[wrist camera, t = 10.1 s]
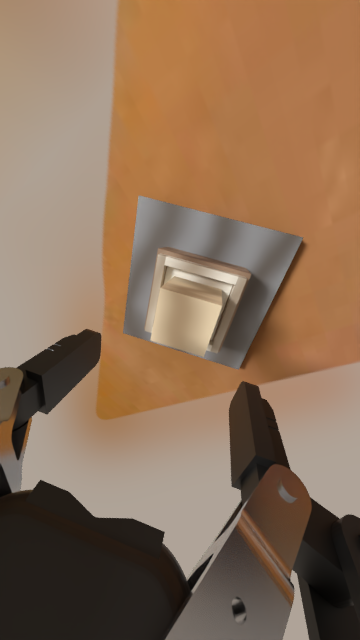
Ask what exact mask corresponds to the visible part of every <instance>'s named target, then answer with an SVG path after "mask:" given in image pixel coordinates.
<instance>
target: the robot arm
mask: <svg viewBox="0 0 360 640" xmlns="http://www.w3.org/2000/svg"><path fill="white" fill-rule="evenodd" d="M100 353H101V334H100V333H98V332H95V331H92V330H89V329H85V330H84V331H82V332H81V333H79V334H78V335H71V336H68V337H65V338H63V339H61V340H60V341H58V342H56V343H55V344H54V345H52V346H50V347H48V349H45V350H44V351H42V352H41V353H39V354H37V355H36V356H34V357H33V358H31V359H30V360H28V361H26V362H25V363H23V364H22V365H20V366H18V367H17V368H13V367H5V368H0V640H282V639H283V636H284V632H285V629H286V625H287V622H288V618H289V615H290V612H291V608H292V604H293V600H294V586H293V584H292V583H291V582H290V576H291V571H292V570H294V571H295V572H296V573H297V575H298V581H299V587H300V592H301V597H302V602H303V608H304V613H305V619H306V624H307V629H308V635H309V640H360V518H358V517H356V516H354V515H346V516H344V517H342V518H341V519H339V518H338V517H336V516H335V515H334V514H332V513H331V512H330V511H328V510H327V509H325V508H324V507H323V506H321V505H320V504H318V503H317V502H316V501H314V500H313V499H312V498H310V496H309V494H308V491H307V489H306V487H305V486H304V484H303V483H302V482H301V480H300V479H299V478H298V476H297V475H296V474H294V473H293V472H292V471H291V470H290V467H289V463H288V460H287V456H286V453H285V450H284V446H283V443H282V439H281V436H280V433H279V431H278V426H277V423H276V419H275V415H274V412H273V409H272V408H271V406H270V405H269V403H268V402H267V400H265V399H262V398H261V395H260V391H259V387H258V386H256V385H253V384H250V383H247V382H244V381H243V382H241V384H240V386H239V388H238V390H237V391H236V393H235V395H234V397H233V399H232V401H231V404H230V408H229V426H230V454H231V481H232V487H234V488H237V489H239V490H241V498H242V500H241V501H240V502H239V503H238V505H237V506H236V508H235V509H234V511H233V512H232V514H231V515H230V517H229V519H228V520H227V521H226V523H225V524H224V526H223V527H222V529H221V530H220V532H219V533H218V535H217V536H216V538H215V539H214V541H213V542H212V544H211V545H210V547H209V548H208V549H207V551H206V552H205V553H204V555H203V556H202V557H201V559H200V560H199V562H198V563H197V564H196V566H195V567H194V569H193V570H192V572H191V573H190V575H189V576H188V578H187V579H186V577H185V575H184V573H183V571H182V569H181V567H180V565H179V563H178V562H177V560H176V559H175V557H174V555H173V554H172V553H171V552H170V550H169V549H168V548H167V547H166V546H165V545H164V544H163V543H162V542H163V537H164V532H163V531H161V530H158V529H156V528H154V527H151V526H149V525H147V524H144V523H142V522H139V521H137V520H134V519H126V518H96V517H94V516H93V515H92V514H91V513H90V512H89V511H87V510H86V508H85V507H84V506H83V505H82V504H81V503H80V502H79V501H78V500H76V498H75V497H74V496H73V495H72V494H71V493H69V492H68V491H66V490H63V489H61V488H58V487H56V486H54V485H51V484H49V483H46V482H44V481H42V480H40V481H39V483H38V484H37V485H36V487H35V488H34V489H33V490H25V491H20V489H21V480H22V474H21V473H22V462H23V458H24V454H25V449H26V445H27V440H28V436H29V431H30V426H31V422H32V416H33V415H34V414H35V413H36V412H37V411H39V412H42V413H45V414H48V413H49V412H50V411H51V410H52V409H53V408H54V407H55V406H56V405H57V404H58V403H59V402H60V401H61V400H62V399H63V398H64V397H65V396H66V395H67V394H68V393H69V392H70V391H71V390H72V389H73V388H74V387H75V386H76V385H77V384H78V383H79V382H80V381H81V380H82V378H84V377H85V376H86V374H88V373H89V372H90V370H92V369H93V368H94V367H95V366H96V364H97V363H98V361H99V359H100Z"/></svg>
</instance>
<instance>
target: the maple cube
mask: <svg viewBox="0 0 360 640" xmlns="http://www.w3.org/2000/svg"><path fill="white" fill-rule="evenodd" d="M221 308H222V289H218V288H215V287H211V286H208V285H204V284H201V283H197V282H194V281H190V280H187V279H183V278H180V277H176V276H174V277H173V278H171V279H170V280H169V281H168V282H167V283H165V284H164V285H163V286H162V287H161V288H160V292H159V297H158V302H157V308H156V313H155V318H154V323H153V329H152V334H151V339H150V340H151V341H154V342H157V343H160V344H163V345H167V346H170V347H173V348H176V349H179V350H182V351H186V352H189V353H192V354H195V355H198V356H202V357H204V355H205V352H206V350H207V347H208V344H209V341H210V339H211V336H212V333H213V330H214V328H215V325H216V322H217V319H218V317H219V314H220V311H221Z"/></svg>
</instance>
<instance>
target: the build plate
mask: <svg viewBox="0 0 360 640" xmlns="http://www.w3.org/2000/svg"><path fill="white" fill-rule="evenodd" d="M302 239H303V237H299V236H295V235H291V234H287V233H283V232H279V231H275V230H271V229H268V228H264V227H260V226H256V225H252V224H248V223H244V222H240V221H236V220H232V219H229V218H225V217H221V216H217V215H213V214H209V213H205V212H201V211H197V210H193V209H190V208H186V207H182V206H178V205H174V204H170V203H166V202H162V201H158V200H154V199H151V198H147V197H143V196H139V198H138V207H137V216H136V224H135V233H134V242H133V251H132V259H131V268H130V277H129V286H128V294H127V303H126V312H125V321H124V329H123V333H125V334H128V335H131V336H134V337H137V338H141V339H144V340H147V341H150V342H153V343H156V344H159V345H163V344H160V343H157V342H154V341H151V340H150V339H151V334H152V329H153V323H154V318H155V313H156V308H157V302H158V297H159V292H160V288H161V287H162V286H163V285H164V284H165V283H167V282H168V281H169V280H170V279H171V278H173V277H174V276H176V277H180V278H183V279H187V280H190V281H194V282H197V283H201V284H204V285H208V286H211V287H215V288H218V289H222V308H221V311H220V314H219V317H218V319H217V322H216V325H215V328H214V330H213V333H212V336H211V339H210V341H209V344H208V347H207V350H206V352H205V355H204V357H202V356H198V355H195V354H192V353H189V352H186V351H182V350H179V349H176V348H173V347H170V346H167V345H163V346H166V347H169V348H172V349H175V350H178V351H182V352H185V353H188V354H191V355H194V356H197V357H200V358H204V359H207V360H210V361H213V362H216V363H219V364H223V365H226V366H229V367H232V368H235V369H238V370H239V368H240V365H241V363H242V361H243V359H244V357H245V355H246V353H247V351H248V349H249V347H250V345H251V343H252V341H253V339H254V337H255V335H256V333H257V331H258V329H259V327H260V325H261V323H262V321H263V319H264V317H265V315H266V313H267V311H268V308H269V306H270V304H271V302H272V300H273V298H274V296H275V294H276V292H277V290H278V288H279V286H280V284H281V282H282V280H283V278H284V276H285V274H286V272H287V270H288V268H289V266H290V264H291V262H292V260H293V258H294V256H295V253H296V251H297V249H298V247H299V245H300V243H301V241H302Z"/></svg>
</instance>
